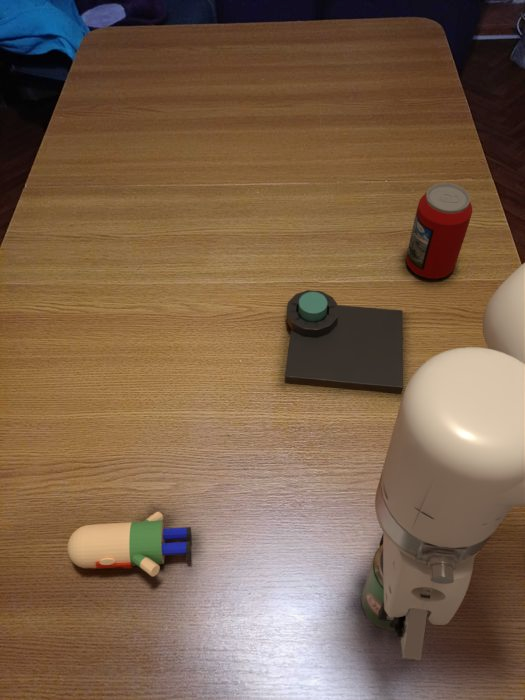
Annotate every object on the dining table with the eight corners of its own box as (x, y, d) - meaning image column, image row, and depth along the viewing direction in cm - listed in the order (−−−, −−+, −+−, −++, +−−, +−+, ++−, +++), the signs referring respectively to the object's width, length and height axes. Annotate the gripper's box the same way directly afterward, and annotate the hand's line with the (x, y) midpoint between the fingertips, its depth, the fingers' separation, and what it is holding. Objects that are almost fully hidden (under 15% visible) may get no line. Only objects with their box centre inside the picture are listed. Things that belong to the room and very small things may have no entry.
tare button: (327, 301, 79) (328, 292, 78) (325, 323, 77) (326, 314, 75) (299, 299, 79) (300, 290, 78) (297, 321, 77) (297, 312, 76)
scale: (400, 312, 81) (404, 297, 79) (401, 393, 73) (405, 379, 71) (289, 303, 82) (289, 288, 80) (278, 382, 75) (278, 368, 72)
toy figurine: (192, 529, 66) (78, 535, 65) (190, 496, 64) (72, 503, 63) (191, 590, 59) (63, 599, 58) (188, 556, 57) (56, 564, 56)
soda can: (354, 619, 58) (366, 582, 49) (368, 568, 61) (383, 524, 51) (407, 640, 57) (430, 606, 47) (419, 587, 60) (444, 545, 50)
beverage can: (406, 245, 88) (422, 176, 79) (454, 251, 88) (476, 182, 78) (403, 279, 85) (419, 211, 75) (453, 285, 84) (476, 217, 74)
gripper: (512, 654, 34) (445, 700, 48) (486, 392, 44) (437, 495, 58) (374, 636, 34) (349, 686, 49) (379, 383, 44) (357, 487, 59)
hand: (397, 582), depth 53 cm, fingers closed on soda can, 5 cm apart
